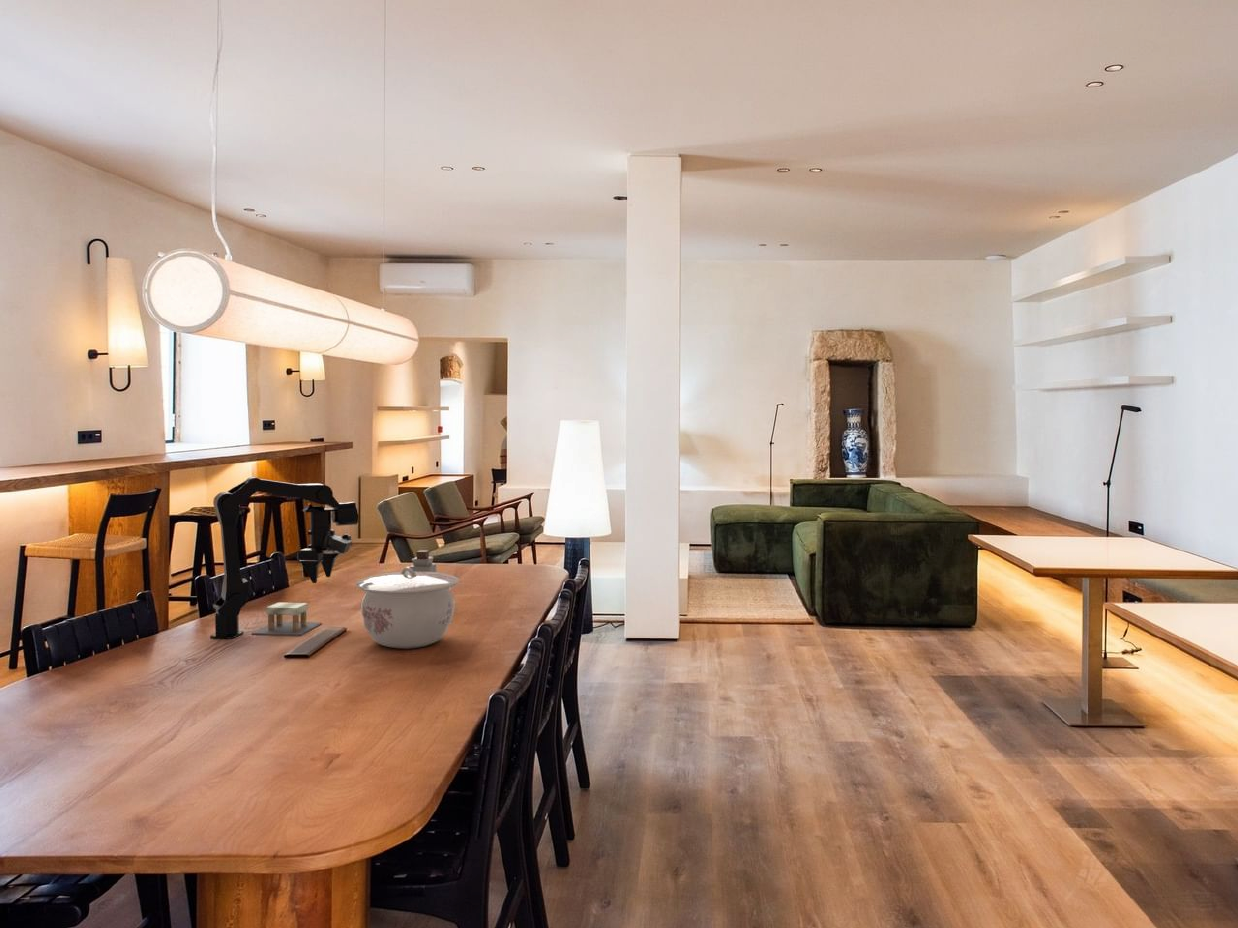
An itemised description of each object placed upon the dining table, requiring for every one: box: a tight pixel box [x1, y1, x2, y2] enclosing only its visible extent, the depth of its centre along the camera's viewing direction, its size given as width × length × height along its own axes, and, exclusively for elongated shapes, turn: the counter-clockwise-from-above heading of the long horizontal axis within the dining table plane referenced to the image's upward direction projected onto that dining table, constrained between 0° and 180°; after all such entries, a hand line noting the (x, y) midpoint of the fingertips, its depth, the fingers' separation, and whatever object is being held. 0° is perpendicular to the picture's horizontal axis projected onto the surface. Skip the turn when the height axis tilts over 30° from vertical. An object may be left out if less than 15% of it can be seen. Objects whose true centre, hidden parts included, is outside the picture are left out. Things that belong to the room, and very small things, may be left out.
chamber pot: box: [355, 566, 461, 650], centre depth 232 cm, size 28×28×21 cm
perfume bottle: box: [408, 549, 437, 572], centre depth 276 cm, size 7×7×18 cm
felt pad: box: [251, 621, 323, 637], centre depth 246 cm, size 14×14×1 cm
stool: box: [266, 602, 309, 631], centre depth 246 cm, size 9×6×6 cm
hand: (321, 579), depth 251 cm, fingers open, 9 cm apart
